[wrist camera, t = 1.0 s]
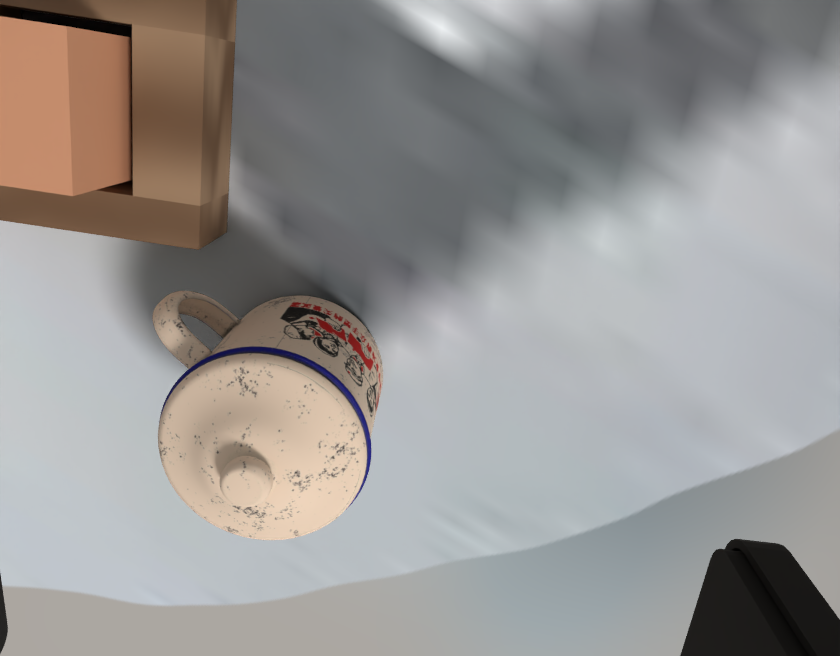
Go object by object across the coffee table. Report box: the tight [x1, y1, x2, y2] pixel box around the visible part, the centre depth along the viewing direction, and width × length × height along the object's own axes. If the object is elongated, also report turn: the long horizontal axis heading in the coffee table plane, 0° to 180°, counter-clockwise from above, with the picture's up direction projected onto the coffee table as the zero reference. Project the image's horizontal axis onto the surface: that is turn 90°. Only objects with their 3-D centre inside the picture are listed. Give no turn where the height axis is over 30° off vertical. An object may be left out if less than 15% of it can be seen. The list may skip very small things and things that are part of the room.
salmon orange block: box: [0, 16, 132, 196], centre depth 27 cm, size 6×6×5 cm
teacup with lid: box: [153, 291, 383, 540], centre depth 30 cm, size 12×9×12 cm
